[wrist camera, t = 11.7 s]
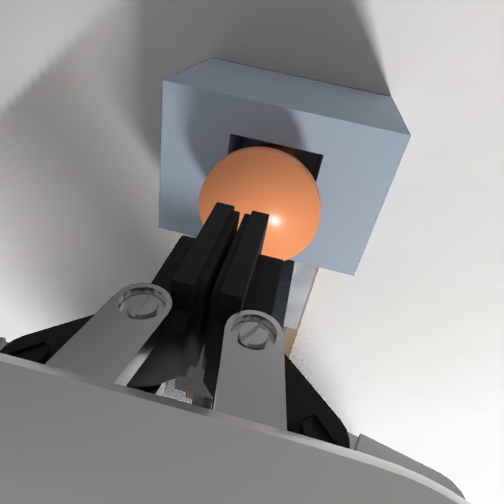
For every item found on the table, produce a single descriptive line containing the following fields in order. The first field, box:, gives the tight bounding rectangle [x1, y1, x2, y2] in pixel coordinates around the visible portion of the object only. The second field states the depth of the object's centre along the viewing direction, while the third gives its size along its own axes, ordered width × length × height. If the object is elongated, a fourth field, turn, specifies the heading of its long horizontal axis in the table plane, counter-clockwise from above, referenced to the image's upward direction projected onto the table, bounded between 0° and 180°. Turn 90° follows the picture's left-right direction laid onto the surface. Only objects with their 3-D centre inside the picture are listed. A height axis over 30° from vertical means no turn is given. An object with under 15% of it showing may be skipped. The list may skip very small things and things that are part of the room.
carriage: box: [175, 259, 317, 399], centre depth 22 cm, size 7×6×10 cm
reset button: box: [199, 143, 321, 261], centre depth 17 cm, size 5×5×4 cm
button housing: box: [159, 58, 411, 276], centre depth 20 cm, size 10×7×7 cm
